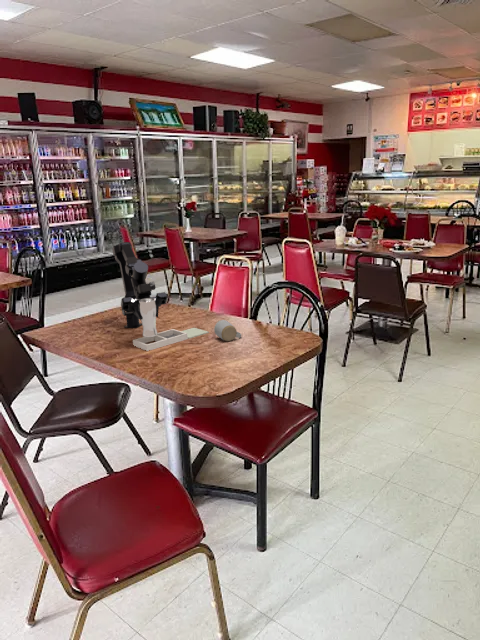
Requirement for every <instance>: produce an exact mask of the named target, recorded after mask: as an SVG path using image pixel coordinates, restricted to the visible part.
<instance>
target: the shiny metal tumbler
mask: <svg viewBox="0 0 480 640" xmlns="http://www.w3.org/2000/svg"><path fill="white" fill-rule="evenodd" d="M139 312H140V315H141V320H140V321H141V322H140V323H142V325H141V326H142V337H154V336H156V335H157V333H158V330H157V325H156V323H157V317H156V304H155V299H154V298H144V299H140V300H139Z"/></svg>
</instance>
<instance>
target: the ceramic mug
mask: <svg viewBox="0 0 480 640" xmlns="http://www.w3.org/2000/svg"><path fill="white" fill-rule="evenodd" d="M213 329H214V334H215V335H216V337H218V338H220V339H221V340H222V341H224V342H231V341H233V340H234V339H235V338H239V339H240V338H242V333H240V332H238V331H237V328H236V327H235V326H234V325H233V324H232V323H231V322H229V320H228V321H227V320H226V319H221V320H218V321H217V322H216V323H215V325H214V328H213Z"/></svg>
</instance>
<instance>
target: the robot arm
mask: <svg viewBox="0 0 480 640" xmlns="http://www.w3.org/2000/svg"><path fill="white" fill-rule="evenodd" d="M112 256H114V259H115V261H116V263H118V265H119V267H120V273H121V279H122V285H123V288H124V296H123V297H121V300H120V307H121V312H122V314H121V315H123V316H124V317H126V319H125V320H126V325H125V326H123V327H124V328H126V329H137V328H139V327H141V326H143V325H142V322H140V321H141V315H140V312H139V300H140V299H144V298H154V299H155V304H156V318H158V317H159V309H160V307H161V306H163V305H166V304H167V300H168V294H167V292H166V291H164V292H163V291H162V292H157V293H156V295H155V296H152V292H153V291H155V290H156V284H155V281H149V282H148V283H147V280H146V279H147V276H148V272H149V271H148V270H149V266H148V264H147V263H146V262H144V261H142V259H140V258H137V257H136V255H135V253H134V250H133V246H132V243H131V242H129V241H123V242H119V243H118V244H116V245H114V246H113V247H112Z"/></svg>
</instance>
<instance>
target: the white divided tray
mask: <svg viewBox="0 0 480 640" xmlns="http://www.w3.org/2000/svg"><path fill="white" fill-rule="evenodd" d="M209 333H210V332H209V330H208V331H207V330H204V329H200V328H197V327H191V328H188V329H184V330H181V331H180V330H177V329H174V328H171V329H168V330H164V331H160V332H157V335H156V336H154V337H143V336H142V337H139V338H135V339H133V340H132V344H133V345H134V347H135V346H136V348H138V349H140V348H141V350H143V351H145V350H146V351H145V352H149V350H150V351H154V350H155V349H159V348H162V347H165V346H169V345H173V344H175V343H180V342H182V341H186V340H188V339H193V338H196V337H199V336H204V335H205V334H209ZM153 341H155V342H153Z"/></svg>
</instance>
